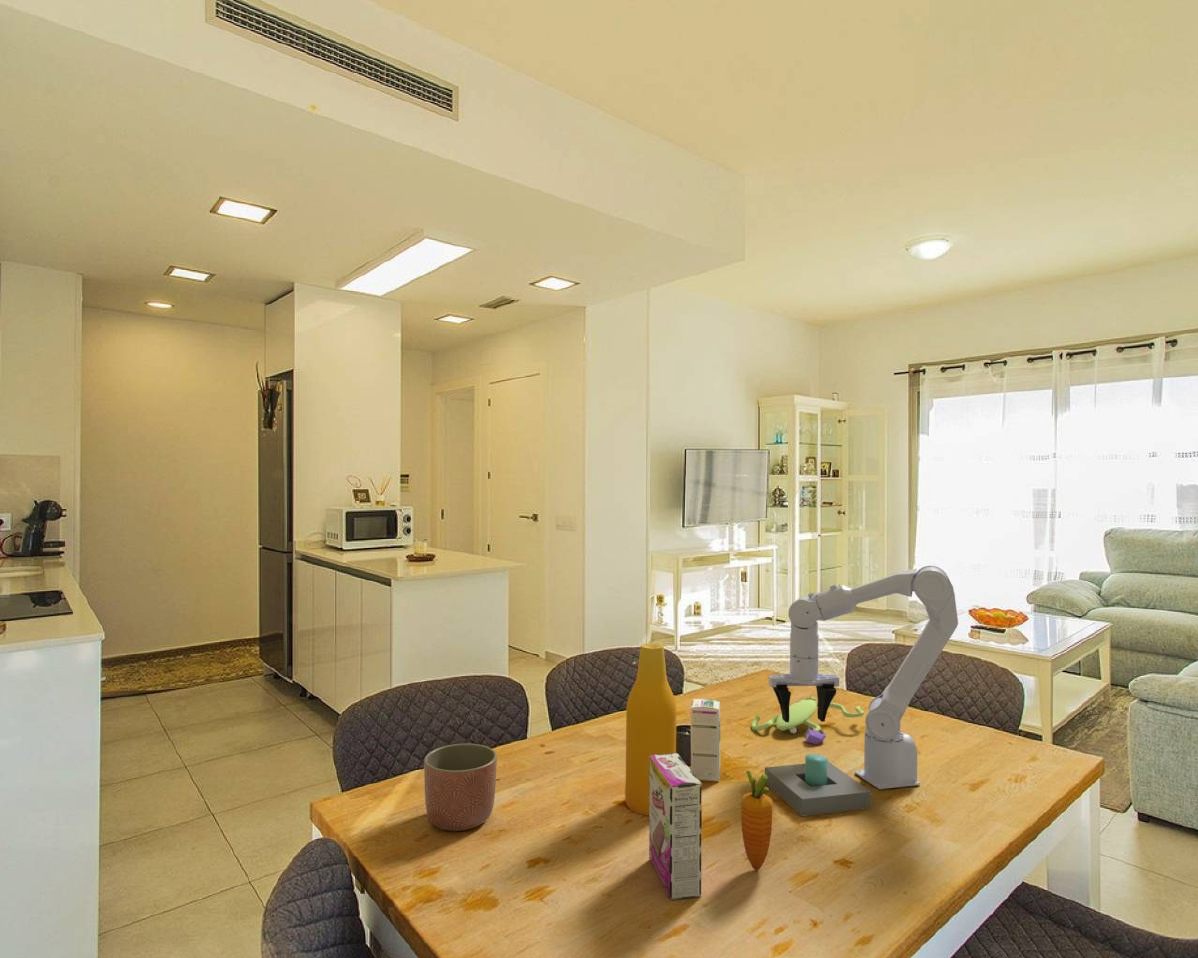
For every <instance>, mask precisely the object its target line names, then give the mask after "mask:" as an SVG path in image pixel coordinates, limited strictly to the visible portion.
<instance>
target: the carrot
mask: <svg viewBox="0 0 1198 958" xmlns="http://www.w3.org/2000/svg"><path fill="white" fill-rule="evenodd" d="M745 774H746V776H747V779H748V782H749V785H750V790H751V792H747V793H744V794H743V795H742V798H741V799H742V800H741V803H740V809H741V810H740V820H741V822H740V823H741V835H742V841H743V846H744V851H745V854H746V857H747V859H748V861H749V863H750V866H751V867H752V869H753V870H754V871H756V872H758V871H759V870H760V869H761V868H762V867H763V865H764V863H765V860H766V858H767V855H768V853H769V847H770V844H771V843H770V842H771V836H772V830H773V816H774V815H773V814H774V803H773V802H774V801H773V799H772V798H771V797H770V796H768V795H766V793H768V791H769V790H770V789H769V788H770V787H768V786H766V787H765V786H764V785H766V784H765V782H766V780H767V775H766V774H765V773H762V774H761V776H760V777H759V779H758V781H757V778H756V777H755V776H753V775H752V772H751V770H747V771H745ZM756 781H757V783H756Z"/></svg>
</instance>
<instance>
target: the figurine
mask: <svg viewBox="0 0 1198 958" xmlns="http://www.w3.org/2000/svg"><path fill="white" fill-rule="evenodd" d="M817 708H818V701H816V697H814V696H808V697H806V698H805V699H799V700H797V701H796V702H795V703H792V704H791V705H789V722H785V721H784V720H783V719H782V712H781V713H780V714H777V715H776V716H774V717H772V718H771V719H769V720H767V721H766V722H764V723H762V724H759V725H757V724H758V723H759V721H760V720H761V716H759V715H756V716H755V717H754V719H752V721H751V729H752V730H753V731H756V732H759V731H762V730H766V729H767V728H770V727H772V726H773V724H774V725H775V726H776V728H777V729H778V730H780V731H782V732H785V731H787V730H789V732H790V733H791V734H793V735H795V734H796V733H797V727H798V726H800V725H802V724H804V725H806V726H808V729H807V730H806V732H805V733H804V738H805V741H806V743H810V744H814V745H820V744H821V743H823V742H824V740H825V739H826V737H827V736H826V735H827V734H826V733H825V732H824V731H823V730H822V728H821V726H820V725H819V724H817V723H814V722H812V721H810V720H809V719H810V718H811V717H812V715H813V714H814V713H815V711H816V710H817ZM829 708H832V709H833V708H834V709H838V710H840V711H841V713H842V715H843V717H846V718H852V719H853V718H861V717H862V716H864V714H865V711H864V710H862V709H861V706H855V707H854V710H855V711H856V712H855V713H854V712H853V713H852V712H848V711H847V710H846V708H845V706H844V705H843V704H839V703H836V702H831V703H830V705H829Z"/></svg>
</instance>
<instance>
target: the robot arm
mask: <svg viewBox="0 0 1198 958" xmlns="http://www.w3.org/2000/svg"><path fill="white" fill-rule="evenodd" d="M913 592H914V594H915V595H916V597H917V598H918V599H919V601H920V602H921V604H923V605H924V607H925V611H926V614H927V616H928V618H929V620H928V621H927V623H926V625H925V627H924V628H923V630H922V631H921V633H920V634H919V636H918V637H917V639H916V640H915V642H914V644H913V645H912V647H911V649H910V651H909V652H908V653H907V655H906V657H905V658H904V660H903V661H902V663H901V664H900V666H899V668H898V669H897V671H896V673H895V674H894V676H893V678H892V679H891V681H890V682H889V684H888V685H886V687H885V688H884V690H883V691H882V693H881V694H880V695H878V696H875V697H874V698H873V699H872V700H871V701H870V702H869V705H868V712H867V714H866V716H865V722H864V723H865V726H866V728H865V729H864V746H863V747H864V748H863V749H864V750H863V751H864V753H863V754H864V756H863V757H864V759H863V761H864V763H863V765H864V766H863V767H864V768H863V769H857V770H854V773H855V774H856V775H857V776H858V777H860V778H861V779H862V780H864V781H866V782H867V783H869V785H872V786H873V787H874V788H876V789H878V790H886V789H887V790H888V789H894V788H895V789H896V788H906V787H914V786H920V785H921V782H920V781H918V748H917V745H916V743H915V739H913V737H912V736H911V735H909V734H908V733H904V732H902V730H901V721H902V718H903V716H904V715H905V713H906V711H907V709H908V707H909V705H910V702H911V700H912V699H913V697H914V696H915V693H917V691H918V690H919V687H920V686H921V685H922V683H923V682H924V679H926V676H927V675H928V673H929V672H930V670H931V669H932V668H933V666H934V664H935V662H936V661H937V660H938V657H939V656H940V655H941V653H942V652H943V650H944V649H945V647H946V645H947V644H948V642H949V641H950V638H951V637H952V636H953V634H954V633H955V631H956V630H957V628H958V625H959V618H958V611H957V602H956V595H955V592H954V585H953V584H952V582H951V579H950V578H949V576H948V574H947V572H945V571H944V570H943V569H942V568H941V567H939V566H935V565H927V566H926V565H925V566H922V567H921V568H919V569H918V568H911V569H907V570H903V571H902V570H901V571H899V572H895V573H893V574H890V575H887V576H884V577H882V578H879V579H876V580H873V581H870V582H867V583H865V584H862V585H858V586H856V587H852V588H850V587H848V586H847V585H843V584H842V585H837V583H836V584H835V583H834V584H832V585H830V586H829V589H827V590H826V589H825V590H823V591H820V592H817V593H815V592H810V593H809V592H808V594H807V596H801V597H799V598H797V599H796V600H795V601H794V602H793V603H792V604H791V605H790V606H789V609H788V614H787V615H788V618H789V620H790V634H789V635H790V636H789V637H790V638H789V673H783V674H782V673H781V674H773V675H768V685H769V686H770V687H771V688H772V690H773V691H774V694H775V696H776V698H777V701H778V704H779V707H780V711H781V713H782V719H783V720H784V721H785V722H789V706H790V701H791V696H792V692H791V691H790V690H789V687H804V686H805V687H814V686H815V688H816V695H817V702H818V707H817V712H816V713H817V719H818V721H820V722H821V723H825V722H826V717H827V714H828V711H829V708H830V707H829V705H830V703H832V701H833V699H834V698H835V696H836V695H837V689H836V688H837V687H840V677H839V676H838V675H836V674H823V673H822V674H821V673H819V638H820V637H819V633H818V631H819V630H818V629H819V628H818V627H819V623H818V621H824V622H825V621H828V620H831V619H834V618H838V617H842V616H844V615H848V614H851V613H854V612H855V609H856V606H857V605H858V604H861V603H865V602H869V601H872V600H876V599H879V598H883V597H887V596H891V595H893V594H899V595H901V596H902V595H903V596H906V597H909V598H912V596H913ZM835 687H836V688H835Z"/></svg>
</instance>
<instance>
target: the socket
mask: <svg viewBox="0 0 1198 958" xmlns="http://www.w3.org/2000/svg"><path fill="white" fill-rule="evenodd" d="M764 774H766V775H767V780H766V782H765V784H764V785H766V786H767V787H768V788H770V789H771V790H772V791H773V792H774V793H776V794H777V795H778V796H779V797H780V798H781V799H782V800H784V801H785V802H786V803H787V804H788V805H789V806H790V807H791V808H792V809H793V810H794V811H796V812H797V813H798V815H800V816H801V817H808V816H814V815H815V816H817V815H824V814H832V813H833V814H834V813H840V812H849V811H857V810H858V811H859V810H866V809H867V810H868V809H872V791H871V790H870V789H868V788H867V787H866V786H864V785H863V784H861V783H860V782H859V781H857V780H855V779H854V778H852V777H851V776H850V775H848V774H847V773H845V772H844V771H842V769H840V768H838V767H837V766H836V765H834V764H832V763H831V762H830V761H828V760H827V785H823V786H814V787H810V786H809V785H808V784H807V783H805V763H797V764H786V765H778V766H767V767H766V766H765V767H764Z"/></svg>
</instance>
